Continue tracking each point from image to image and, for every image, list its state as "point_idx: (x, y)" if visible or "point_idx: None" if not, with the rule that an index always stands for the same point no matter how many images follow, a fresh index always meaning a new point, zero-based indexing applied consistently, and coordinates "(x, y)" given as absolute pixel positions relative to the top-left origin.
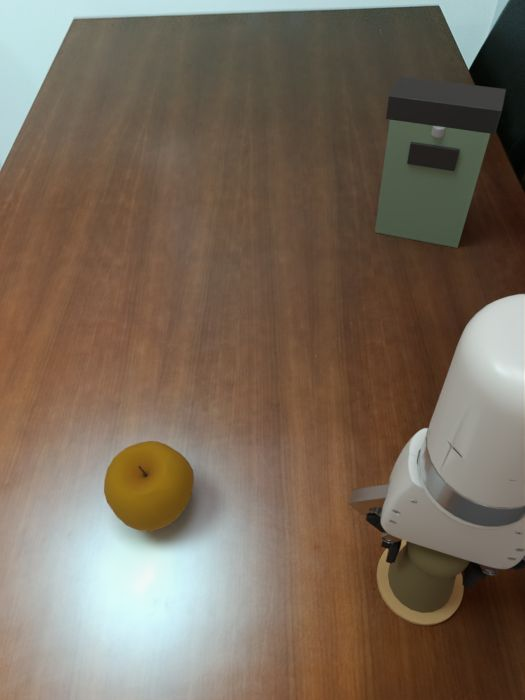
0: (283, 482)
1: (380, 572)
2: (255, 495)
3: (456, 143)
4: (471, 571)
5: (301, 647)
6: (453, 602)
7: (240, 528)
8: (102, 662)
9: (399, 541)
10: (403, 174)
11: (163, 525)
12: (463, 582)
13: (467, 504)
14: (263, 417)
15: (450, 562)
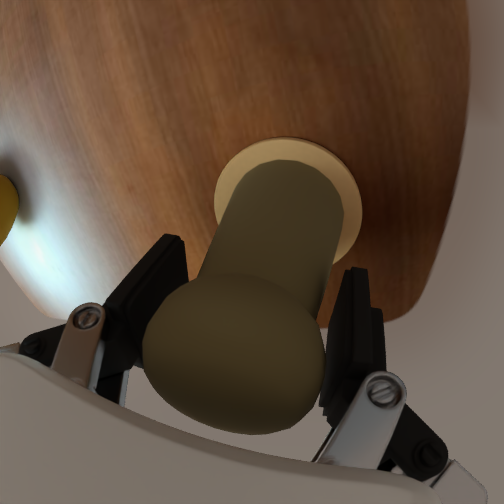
0: (66, 113)
1: (220, 214)
2: (51, 145)
3: None
4: (321, 392)
5: None
6: (342, 243)
7: (58, 190)
8: (59, 305)
9: (141, 355)
10: None
11: (3, 238)
12: (328, 332)
13: None
14: (28, 40)
15: (247, 434)
